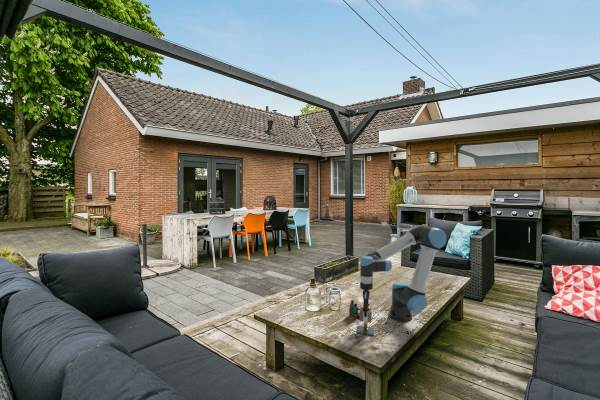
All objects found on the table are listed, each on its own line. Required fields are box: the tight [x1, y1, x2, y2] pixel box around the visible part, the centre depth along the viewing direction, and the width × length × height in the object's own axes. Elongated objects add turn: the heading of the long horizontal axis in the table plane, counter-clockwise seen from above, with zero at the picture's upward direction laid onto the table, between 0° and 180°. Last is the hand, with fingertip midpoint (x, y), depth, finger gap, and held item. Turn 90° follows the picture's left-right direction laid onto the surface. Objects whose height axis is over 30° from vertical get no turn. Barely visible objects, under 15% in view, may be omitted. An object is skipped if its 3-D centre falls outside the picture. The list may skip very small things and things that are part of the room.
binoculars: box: [348, 299, 360, 320], centre depth 208 cm, size 9×11×10 cm
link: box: [358, 306, 373, 323], centre depth 187 cm, size 7×7×6 cm
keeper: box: [356, 322, 375, 337], centre depth 187 cm, size 10×9×12 cm
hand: (365, 318), depth 187 cm, fingers closed on link, 7 cm apart
